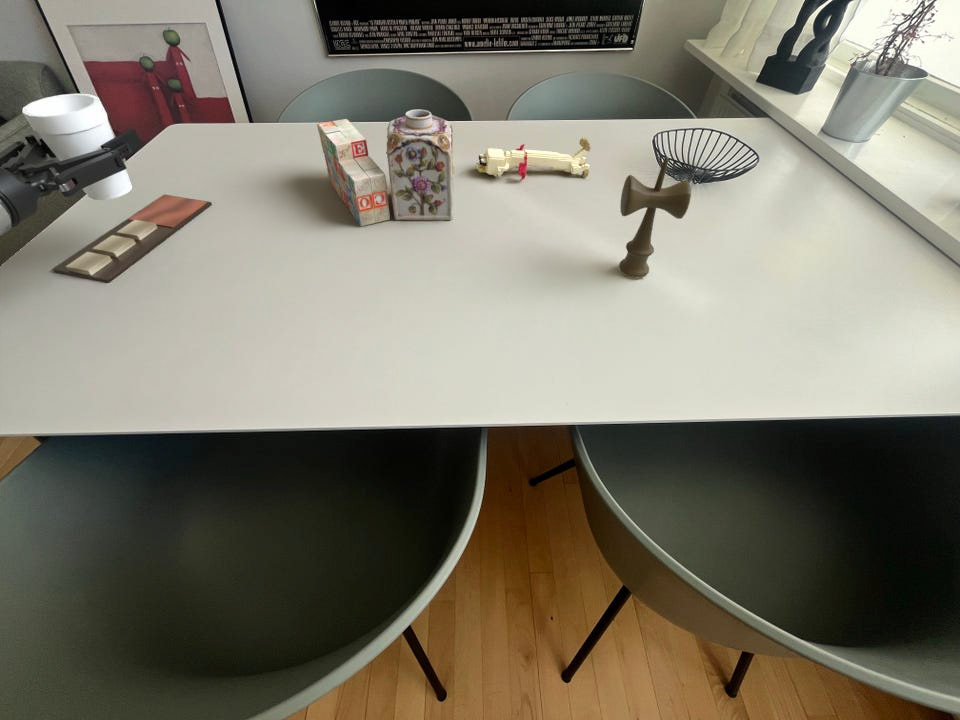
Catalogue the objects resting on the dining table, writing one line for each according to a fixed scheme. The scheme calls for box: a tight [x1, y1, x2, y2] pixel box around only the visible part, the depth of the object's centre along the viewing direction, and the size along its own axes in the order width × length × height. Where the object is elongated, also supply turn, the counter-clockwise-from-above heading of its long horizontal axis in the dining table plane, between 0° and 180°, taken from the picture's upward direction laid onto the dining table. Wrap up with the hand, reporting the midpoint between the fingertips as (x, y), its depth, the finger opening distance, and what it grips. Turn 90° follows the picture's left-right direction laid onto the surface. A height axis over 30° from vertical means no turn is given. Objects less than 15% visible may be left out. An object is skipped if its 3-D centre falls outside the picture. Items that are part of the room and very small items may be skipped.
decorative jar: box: [385, 108, 455, 221], centre depth 91 cm, size 12×12×18 cm
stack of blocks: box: [316, 118, 391, 227], centre depth 95 cm, size 21×6×12 cm, turn 28°
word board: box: [52, 194, 213, 284], centre depth 88 cm, size 11×27×2 cm, turn 165°
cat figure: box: [475, 137, 591, 180], centre depth 106 cm, size 10×9×25 cm
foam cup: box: [22, 93, 133, 201], centre depth 73 cm, size 10×9×13 cm
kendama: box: [618, 156, 692, 278], centre depth 76 cm, size 6×10×20 cm, turn 83°
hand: (107, 135), depth 76 cm, fingers closed on foam cup, 9 cm apart
